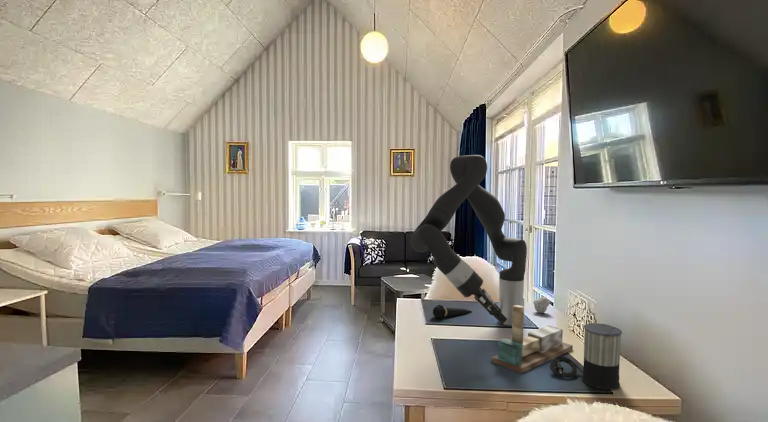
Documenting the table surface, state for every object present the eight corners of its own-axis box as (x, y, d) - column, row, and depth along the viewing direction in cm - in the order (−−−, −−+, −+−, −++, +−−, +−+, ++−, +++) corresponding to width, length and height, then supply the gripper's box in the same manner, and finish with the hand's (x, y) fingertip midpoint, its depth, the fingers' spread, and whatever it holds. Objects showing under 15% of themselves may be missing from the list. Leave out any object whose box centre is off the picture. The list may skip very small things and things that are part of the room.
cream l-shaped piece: (537, 343, 133) (538, 298, 132) (547, 346, 131) (548, 300, 130) (503, 356, 122) (504, 307, 121) (513, 360, 119) (514, 310, 119)
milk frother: (628, 390, 107) (630, 334, 106) (569, 391, 106) (570, 334, 105) (596, 367, 121) (598, 317, 120) (544, 368, 120) (545, 317, 119)
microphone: (467, 318, 177) (430, 319, 167) (466, 305, 178) (429, 305, 168) (476, 318, 172) (439, 319, 162) (475, 304, 174) (437, 304, 164)
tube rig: (544, 340, 142) (544, 320, 142) (572, 349, 134) (573, 328, 134) (491, 361, 124) (492, 338, 124) (520, 373, 116) (521, 349, 116)
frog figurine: (550, 315, 171) (550, 299, 171) (532, 313, 174) (532, 297, 174) (549, 311, 177) (550, 295, 177) (532, 310, 180) (533, 294, 179)
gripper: (475, 274, 116) (516, 315, 115) (470, 265, 130) (506, 302, 130) (456, 292, 117) (496, 333, 116) (452, 281, 131) (488, 318, 130)
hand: (501, 317), depth 123 cm, fingers open, 8 cm apart
